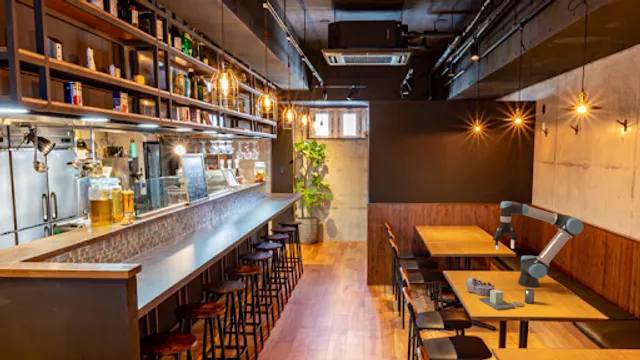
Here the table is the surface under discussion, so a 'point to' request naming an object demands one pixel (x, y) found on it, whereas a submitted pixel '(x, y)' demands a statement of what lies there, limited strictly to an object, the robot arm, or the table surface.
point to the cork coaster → (517, 304)
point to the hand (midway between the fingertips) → (505, 248)
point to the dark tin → (529, 296)
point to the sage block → (496, 296)
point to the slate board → (497, 306)
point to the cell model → (478, 286)
